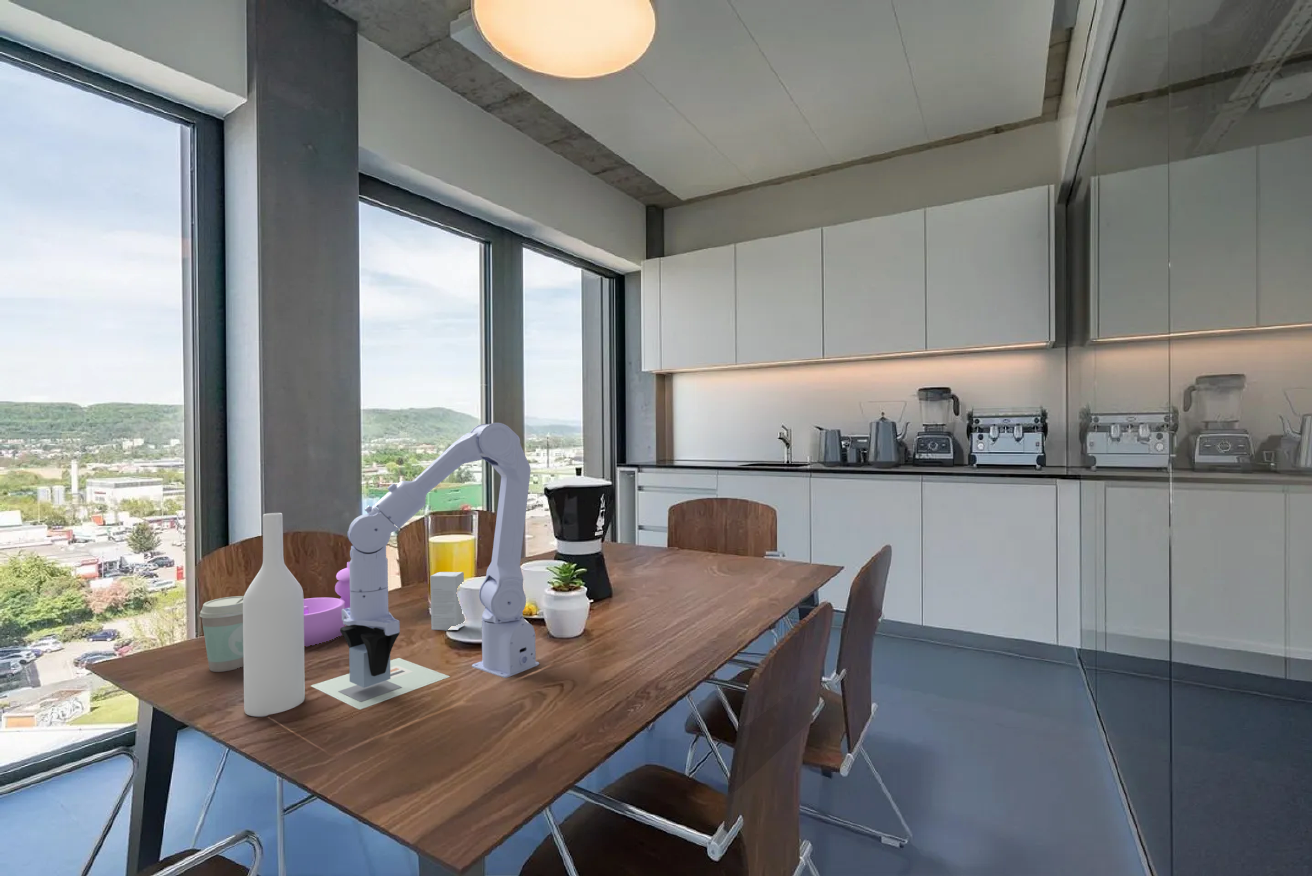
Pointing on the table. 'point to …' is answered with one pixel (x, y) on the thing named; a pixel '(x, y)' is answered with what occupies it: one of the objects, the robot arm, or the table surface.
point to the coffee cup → (223, 633)
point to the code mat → (381, 684)
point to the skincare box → (445, 600)
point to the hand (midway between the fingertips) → (370, 670)
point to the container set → (327, 612)
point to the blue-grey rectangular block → (364, 668)
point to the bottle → (273, 631)
